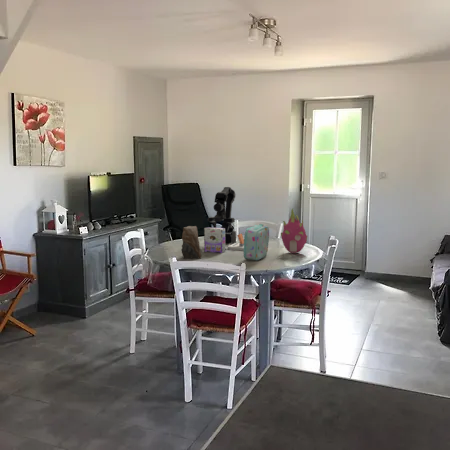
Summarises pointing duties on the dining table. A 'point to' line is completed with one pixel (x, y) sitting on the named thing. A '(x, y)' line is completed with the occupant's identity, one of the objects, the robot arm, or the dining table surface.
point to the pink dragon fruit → (294, 234)
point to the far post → (233, 237)
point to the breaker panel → (236, 246)
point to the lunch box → (256, 242)
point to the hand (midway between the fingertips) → (221, 231)
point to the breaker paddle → (241, 238)
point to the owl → (190, 243)
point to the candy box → (214, 240)
